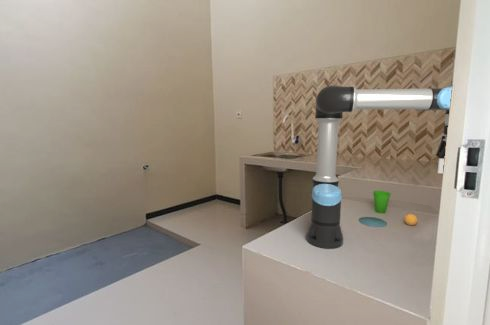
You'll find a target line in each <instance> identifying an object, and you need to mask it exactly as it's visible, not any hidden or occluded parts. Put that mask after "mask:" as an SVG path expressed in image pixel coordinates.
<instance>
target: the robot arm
mask: <svg viewBox="0 0 490 325" xmlns="http://www.w3.org/2000/svg"><path fill="white" fill-rule="evenodd" d="M452 86H453V85H450V86H448V87H445V88H444V87H442V88H440V87H439V88H434V87H433V88H372V89H371V88H369V89H367V88H363V89H362V88H361V89H360V88H359V89H358V88H356V87H355V86H343V85H342V86H341V85H340V86H339V85H327V86H324V87H323V88H322V89H320V91H319V92H318V94H317V95H316V97H315V117H314V119H315V121H316V122H317V123H318V128H317V130H318V131H317V150H316V167H315V168H316V170H315V175H314V176H313V177H312V184H311V185H312V186H311V218H310V219H311V221H310V224H309V226H308V228H307V232H306V237H305V238H306V242H308V243H309V244H310V245H312V246H315V247H317V248H321V249H322V248H323V249H338V248H340V247H342V246H343V245H344V234H343V231H342V228H341V225H340V224H341V211H342V210H341V207H342V205H341V204H342V198H343V196H342V190H341V188H339V185H340V184H339V183H340V182H339V181H340V179H339V178H338V177H337V176H336V175H337V174H336V173H337V171H336V170H337V155H338V137H339V123H340V122H341V121H342V120H343V116H344V113H353V112H355V110H415V111H421V112H423V111H445V114H444V125H445V126H444V127H443V134H444V135H442V136H441V141H440V144H439V146H438V149H437V151H436V154H435V156H436V157H437V158H438V166H437V174H444V173H443V165H444V159H445V158H444V156H445V146H446V137H447V127H448V117H449V108H450V99H451V90H452Z"/></svg>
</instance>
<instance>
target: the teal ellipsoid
mask: <svg viewBox="0 0 490 325" xmlns="http://www.w3.org/2000/svg"><path fill="white" fill-rule="evenodd" d="M358 222H359V223H360V224H362V225H365V226H368V227H375V228H382V227H386V226H387V225H388V223H387V221H385V220H384V219H381V218H378V217H374V216H373V217H372V216H362V217H360V218H358Z"/></svg>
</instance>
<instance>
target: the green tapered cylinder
mask: <svg viewBox="0 0 490 325" xmlns="http://www.w3.org/2000/svg"><path fill="white" fill-rule="evenodd" d="M372 193H373V202H374V210H375V213H377V214H386V213H387V212H386V211H387V208H388V204H389V200H390V197H391V195H392V193H391V192H389V191H385V190H373V191H372Z"/></svg>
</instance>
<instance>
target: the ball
mask: <svg viewBox="0 0 490 325" xmlns="http://www.w3.org/2000/svg"><path fill="white" fill-rule="evenodd" d="M403 220H404V222H405V224H406V225H408V226H415V225H416V224H417V223H418V218H417V216H416V215H415V214H413V213H409V214H408V213H407V214H406V215H405V216H404V219H403Z"/></svg>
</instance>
